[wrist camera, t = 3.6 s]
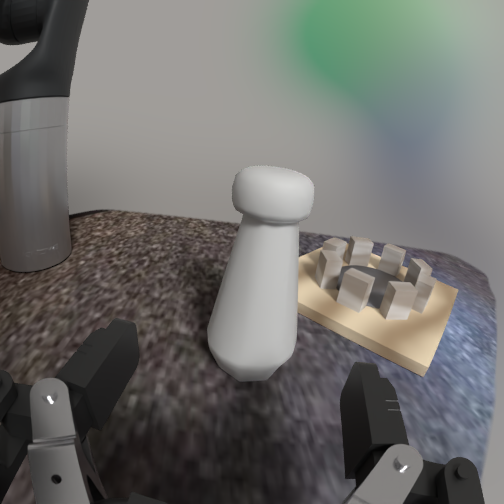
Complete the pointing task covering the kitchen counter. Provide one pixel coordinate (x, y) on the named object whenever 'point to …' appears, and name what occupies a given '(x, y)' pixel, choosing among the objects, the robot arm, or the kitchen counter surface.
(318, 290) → the stonehenge model
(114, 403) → the robot arm
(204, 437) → the kitchen counter surface
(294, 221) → the salt shaker
